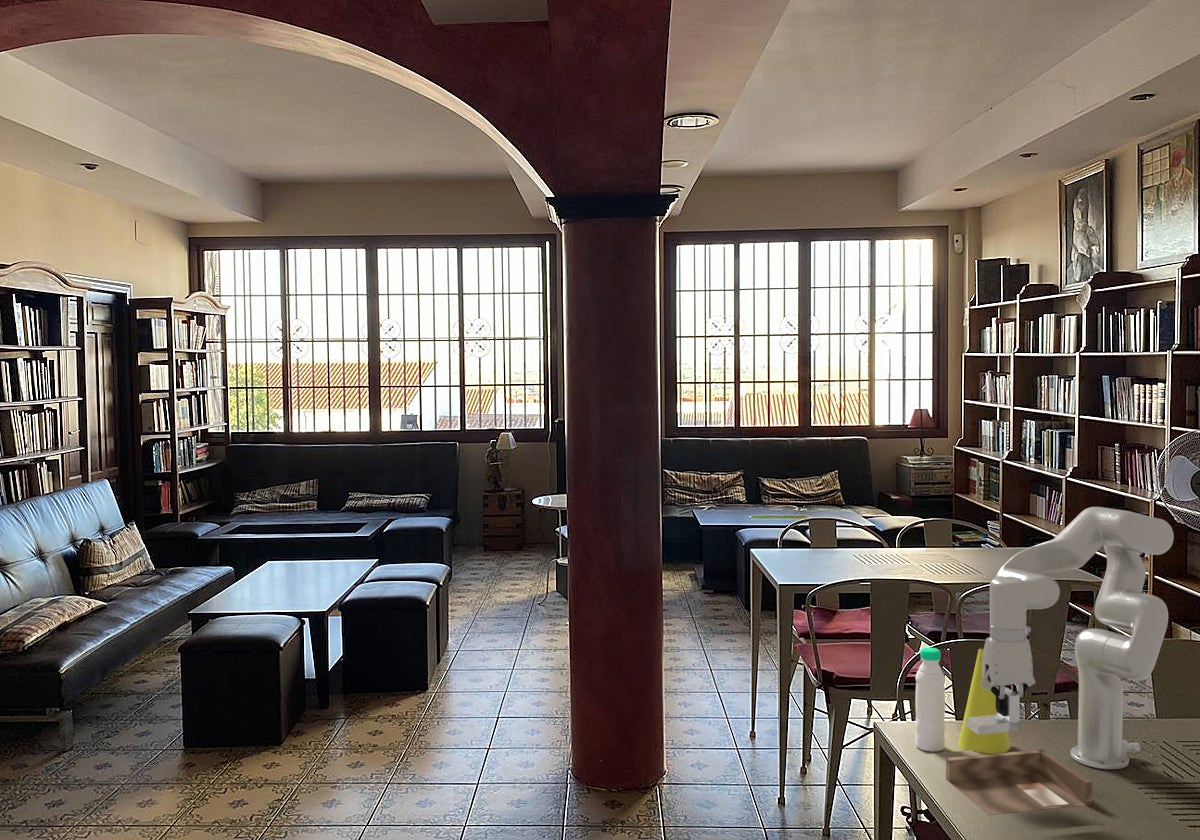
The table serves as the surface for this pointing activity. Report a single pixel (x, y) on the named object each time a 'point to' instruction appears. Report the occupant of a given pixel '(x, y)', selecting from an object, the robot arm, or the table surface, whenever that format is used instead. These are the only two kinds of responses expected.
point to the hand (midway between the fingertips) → (1008, 712)
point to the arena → (1018, 782)
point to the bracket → (998, 718)
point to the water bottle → (930, 702)
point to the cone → (981, 705)
